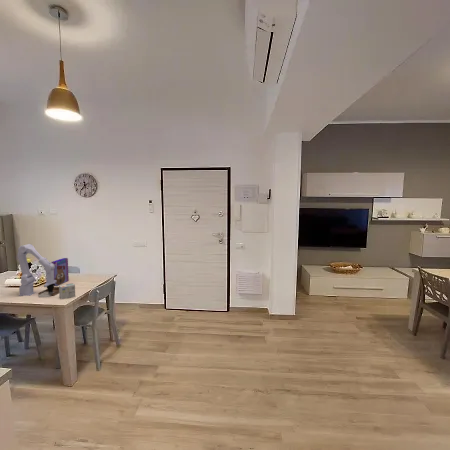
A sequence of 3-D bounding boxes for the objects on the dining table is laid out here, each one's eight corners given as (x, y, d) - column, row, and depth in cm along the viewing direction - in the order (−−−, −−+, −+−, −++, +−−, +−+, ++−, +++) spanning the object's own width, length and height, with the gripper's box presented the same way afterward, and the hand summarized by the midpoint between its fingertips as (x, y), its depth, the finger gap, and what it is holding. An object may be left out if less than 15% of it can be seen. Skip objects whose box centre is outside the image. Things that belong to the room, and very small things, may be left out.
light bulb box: (72, 294, 231) (72, 282, 230) (75, 296, 227) (75, 284, 226) (58, 298, 223) (58, 285, 222) (62, 299, 218) (61, 287, 217)
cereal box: (57, 286, 253) (56, 261, 251) (52, 286, 253) (51, 261, 251) (68, 280, 270) (67, 258, 268) (64, 280, 270) (63, 257, 268)
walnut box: (38, 296, 225) (38, 293, 225) (51, 290, 242) (51, 286, 242) (53, 296, 225) (53, 293, 225) (65, 290, 242) (65, 286, 242)
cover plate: (38, 297, 222) (38, 294, 222) (44, 293, 230) (44, 291, 230) (49, 297, 222) (49, 295, 222) (55, 294, 230) (55, 291, 230)
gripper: (49, 279, 223) (50, 295, 224) (59, 275, 237) (60, 289, 238) (41, 279, 223) (41, 295, 224) (51, 275, 237) (52, 289, 238)
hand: (50, 292), depth 231 cm, fingers closed
